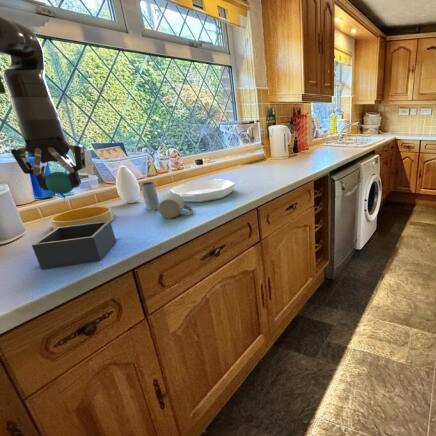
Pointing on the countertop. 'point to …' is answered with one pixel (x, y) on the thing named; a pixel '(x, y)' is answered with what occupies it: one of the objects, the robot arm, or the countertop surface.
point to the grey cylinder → (150, 195)
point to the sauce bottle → (127, 185)
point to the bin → (74, 245)
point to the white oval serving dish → (204, 190)
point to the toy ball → (59, 182)
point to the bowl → (82, 216)
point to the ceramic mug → (173, 206)
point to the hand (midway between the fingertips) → (62, 188)
